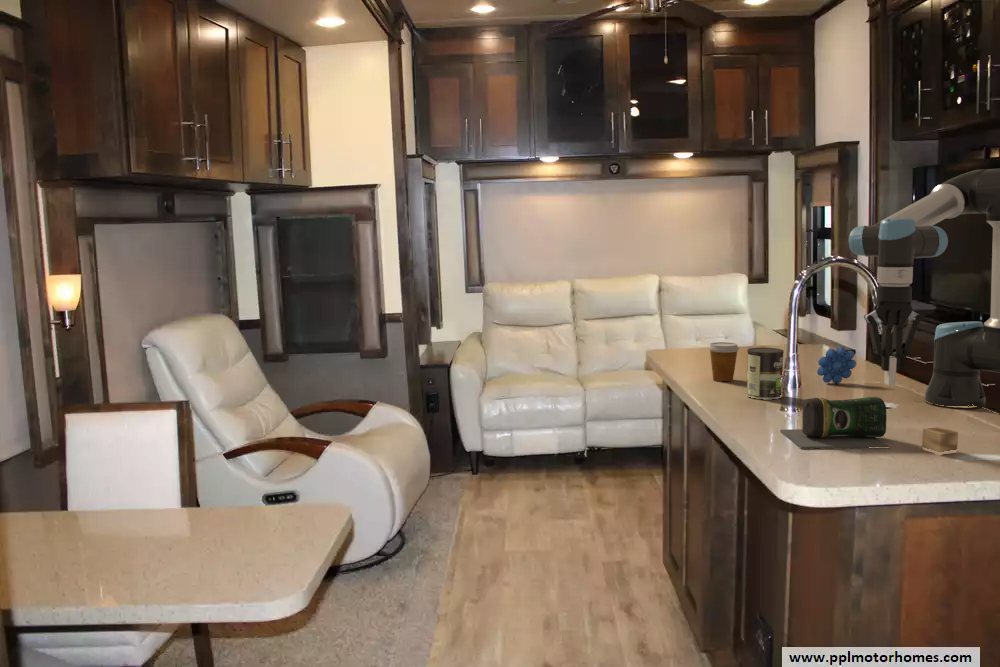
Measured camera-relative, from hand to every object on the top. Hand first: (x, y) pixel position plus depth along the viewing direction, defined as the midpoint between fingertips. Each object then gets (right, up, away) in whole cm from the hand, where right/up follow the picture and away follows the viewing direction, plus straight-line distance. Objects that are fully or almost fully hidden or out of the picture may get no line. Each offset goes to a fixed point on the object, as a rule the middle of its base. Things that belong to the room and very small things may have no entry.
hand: (889, 384), depth 203 cm
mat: (-13, -13, +2) cm, 19 cm away
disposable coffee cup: (-19, -4, +78) cm, 80 cm away
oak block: (+7, -15, -9) cm, 19 cm away
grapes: (+15, -4, +70) cm, 72 cm away
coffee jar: (-1, -8, +2) cm, 8 cm away
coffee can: (-14, -7, +52) cm, 54 cm away
